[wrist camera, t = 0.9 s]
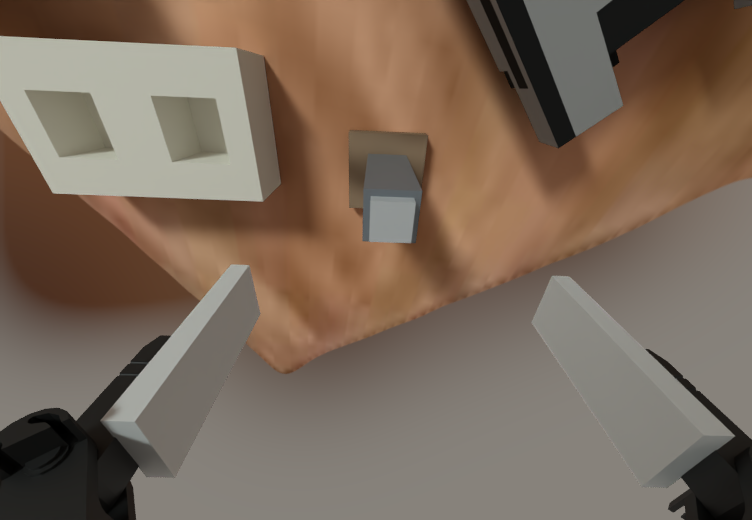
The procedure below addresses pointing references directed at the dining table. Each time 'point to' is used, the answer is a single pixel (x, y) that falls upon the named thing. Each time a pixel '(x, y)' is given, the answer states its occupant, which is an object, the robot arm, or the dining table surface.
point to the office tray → (565, 55)
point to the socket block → (142, 117)
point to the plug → (390, 200)
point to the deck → (382, 144)
